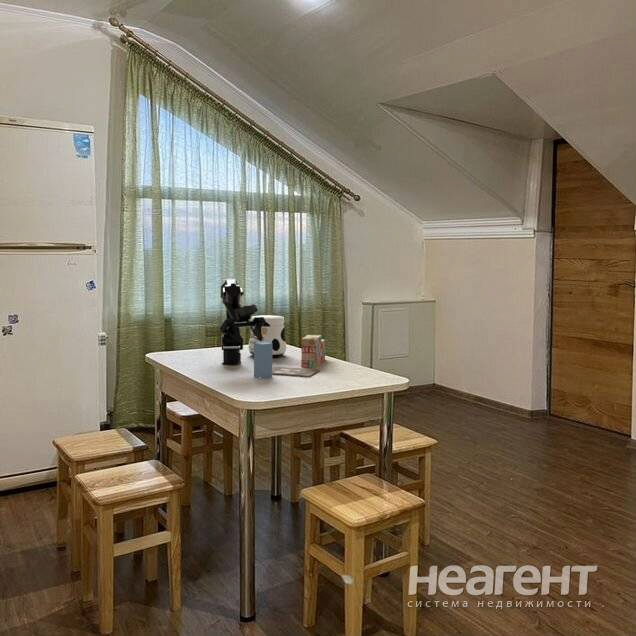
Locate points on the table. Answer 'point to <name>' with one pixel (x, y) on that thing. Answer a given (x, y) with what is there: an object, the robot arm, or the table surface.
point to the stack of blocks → (312, 350)
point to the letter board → (293, 371)
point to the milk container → (271, 334)
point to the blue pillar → (263, 359)
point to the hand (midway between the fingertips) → (252, 341)
